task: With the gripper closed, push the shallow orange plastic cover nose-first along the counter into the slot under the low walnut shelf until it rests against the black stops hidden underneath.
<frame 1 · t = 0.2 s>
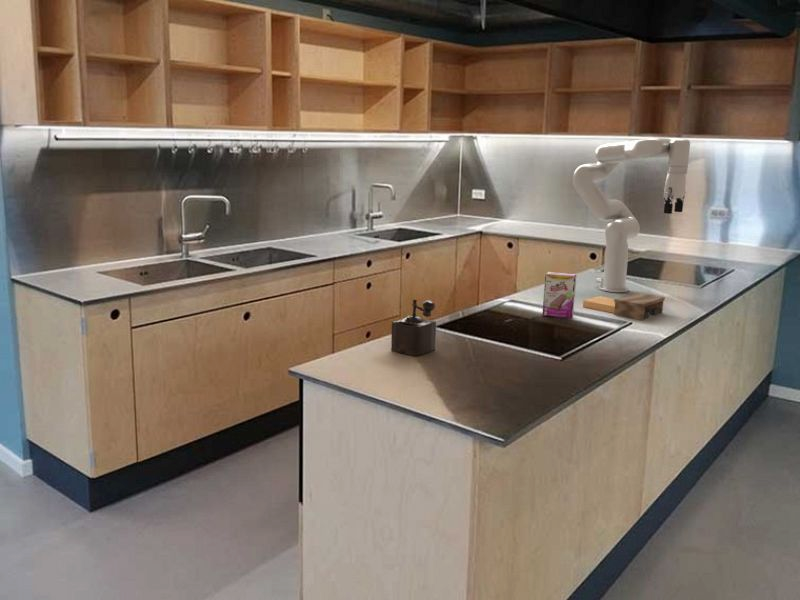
hand: (673, 212, 296), 36 cm above the countertop, tool pointing down, fingers open, 9 cm apart
orange cover: (606, 307, 288), on the countertop
candy bar box: (557, 316, 273), on the countertop
black manual coffee grinder: (418, 352, 226), on the countertop
walnut shelf: (636, 313, 279), on the countertop
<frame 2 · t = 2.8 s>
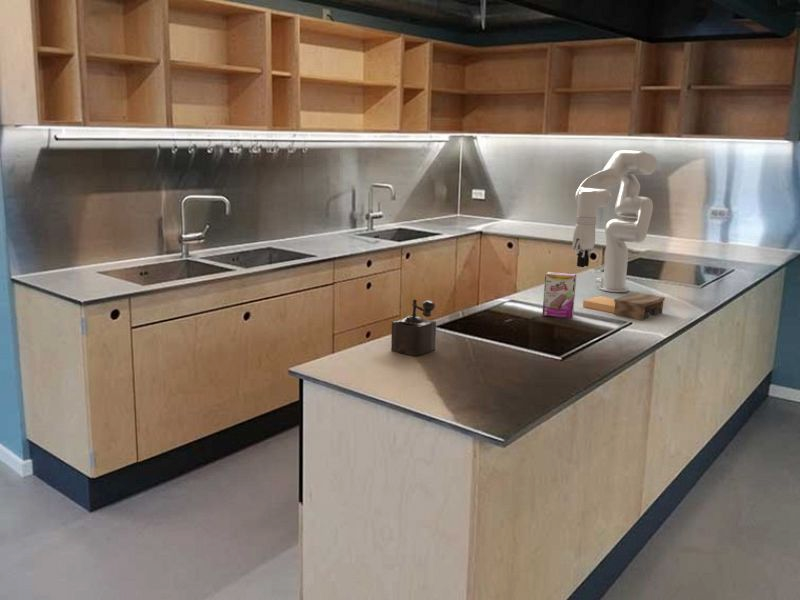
hand: (582, 265, 292), 15 cm above the countertop, tool pointing down, fingers closed
nothing on the countertop moved.
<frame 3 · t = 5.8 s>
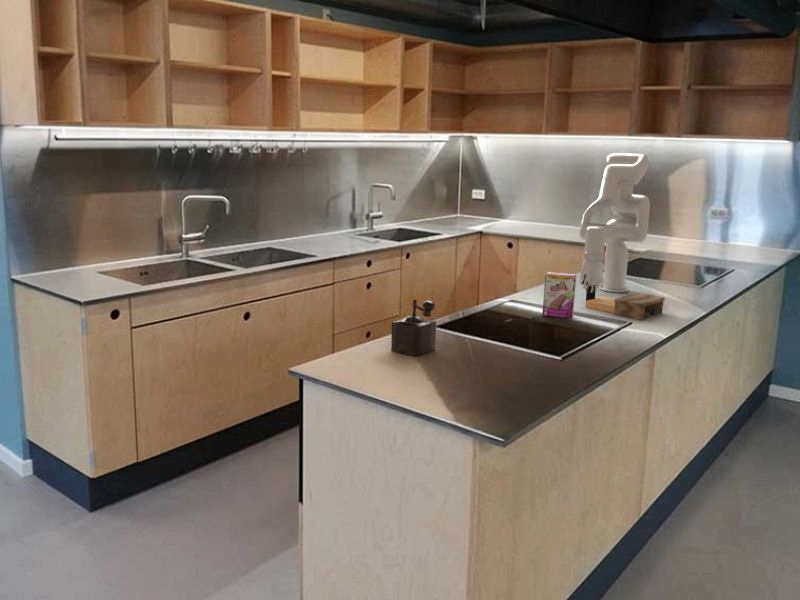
hand: (590, 301, 292), 1 cm above the countertop, tool pointing down, fingers closed
orange cover: (609, 308, 287), on the countertop
everything else where it was.
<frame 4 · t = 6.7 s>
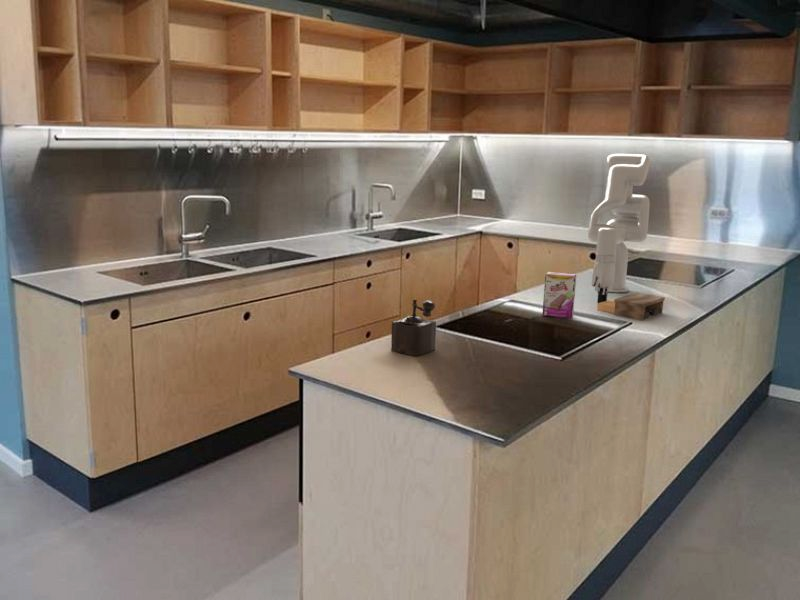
hand: (601, 303, 289), 1 cm above the countertop, tool pointing down, fingers closed
orange cover: (621, 310, 283), on the countertop, touching gripper
everything else where it was.
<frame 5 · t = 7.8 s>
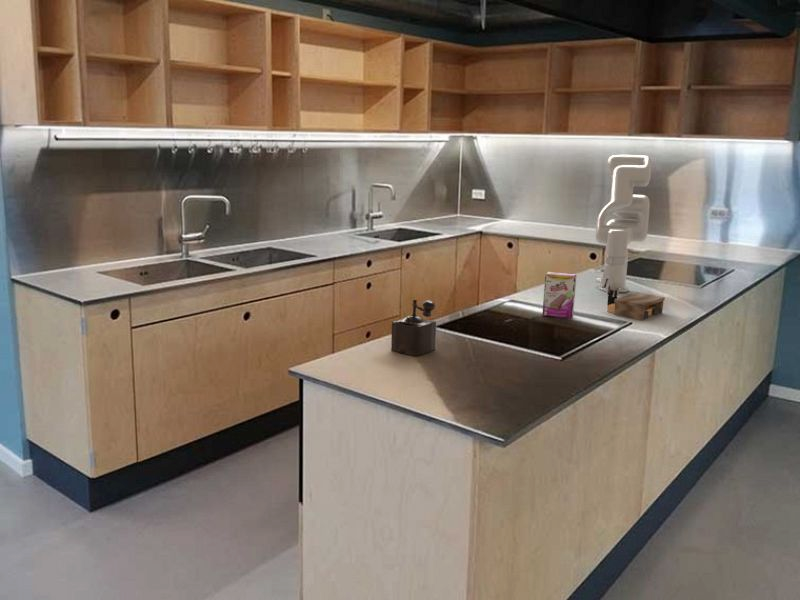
hand: (611, 305, 286), 1 cm above the countertop, tool pointing down, fingers closed
orange cover: (631, 312, 280), on the countertop, touching gripper, walnut shelf
everything else where it was.
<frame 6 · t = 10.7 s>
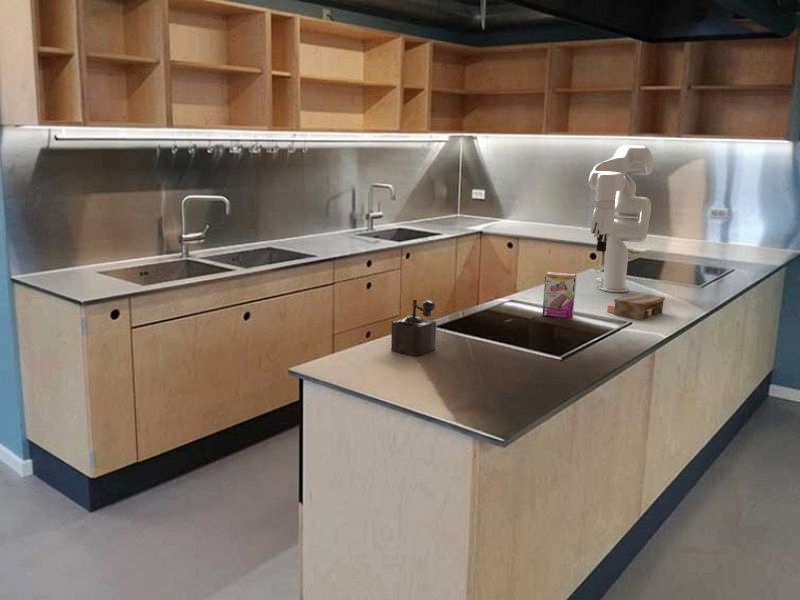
hand: (601, 251, 287), 22 cm above the countertop, tool pointing down, fingers closed
orange cover: (631, 312, 280), on the countertop
everything else where it was.
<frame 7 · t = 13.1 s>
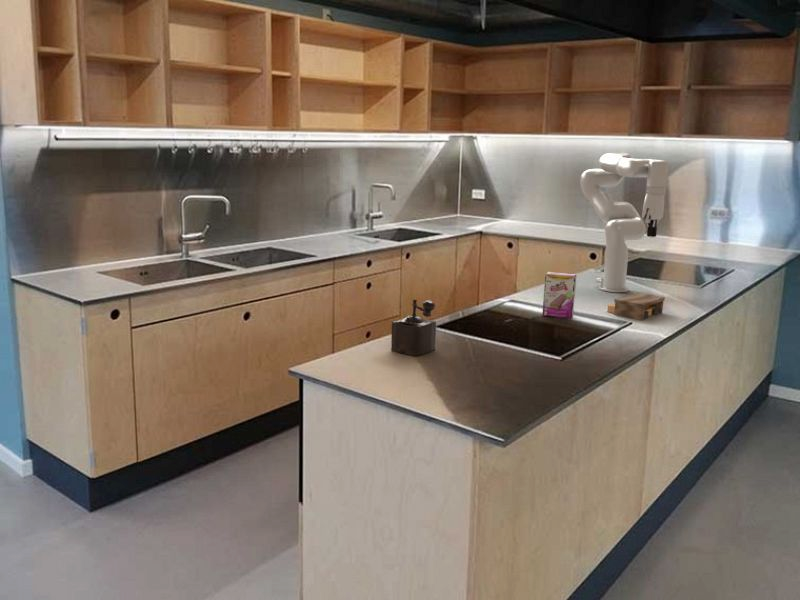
hand: (651, 236, 294), 27 cm above the countertop, tool pointing down, fingers closed
nothing on the countertop moved.
at the end: orange cover 0.3 cm from the target spot on the walnut shelf, point 0.0 cm above the walnut shelf's base; orange cover tilted 0°; the gripper is holding nothing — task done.
